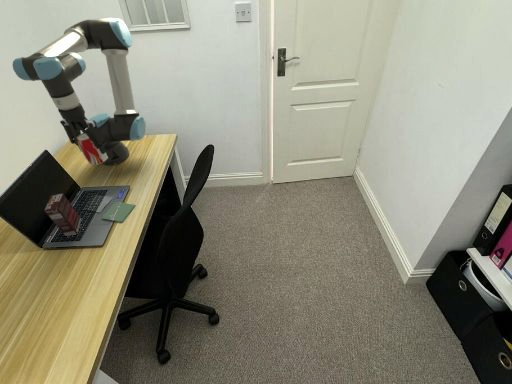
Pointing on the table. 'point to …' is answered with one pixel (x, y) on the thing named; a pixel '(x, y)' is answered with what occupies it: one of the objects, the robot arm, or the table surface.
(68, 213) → the supplement box
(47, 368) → the table surface
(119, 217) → the coaster
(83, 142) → the soda can
